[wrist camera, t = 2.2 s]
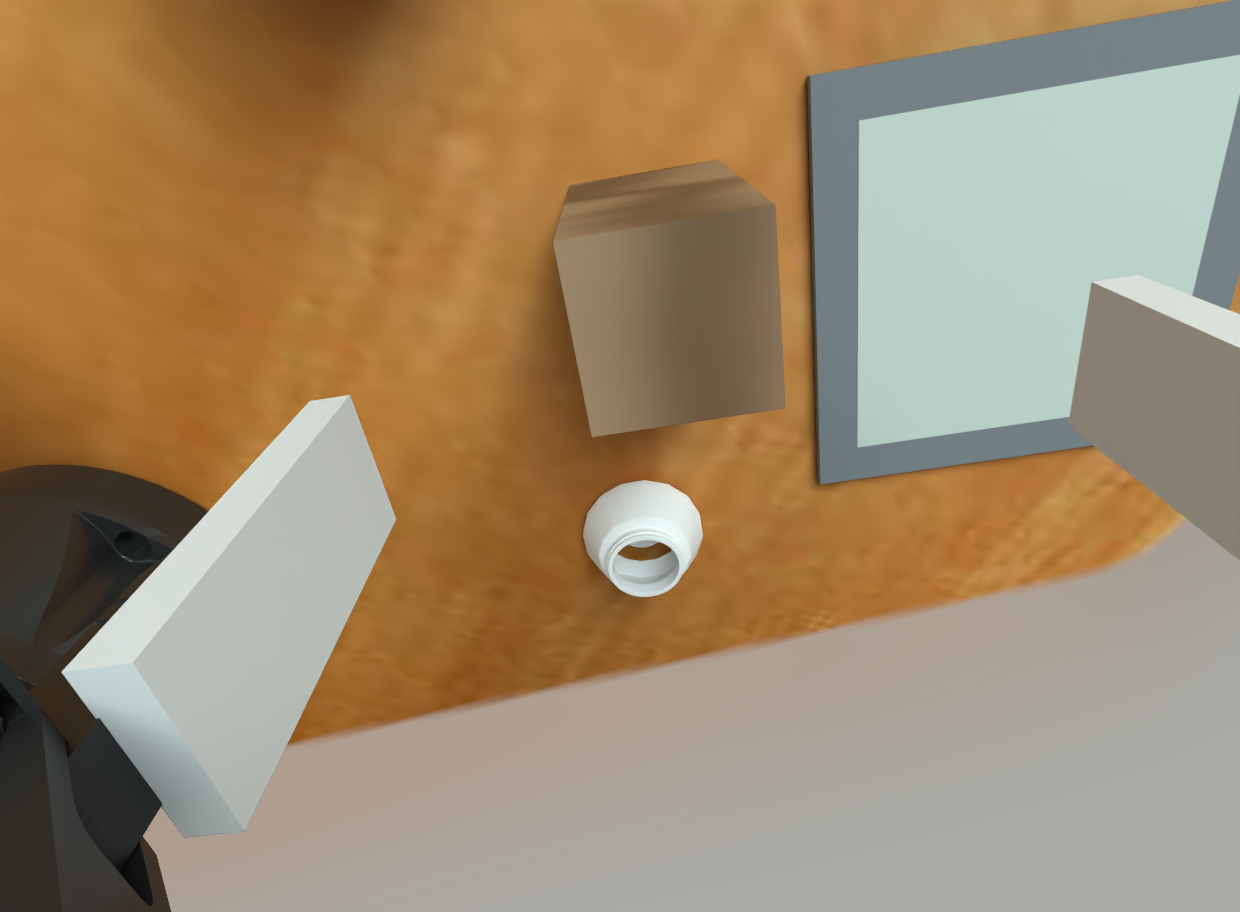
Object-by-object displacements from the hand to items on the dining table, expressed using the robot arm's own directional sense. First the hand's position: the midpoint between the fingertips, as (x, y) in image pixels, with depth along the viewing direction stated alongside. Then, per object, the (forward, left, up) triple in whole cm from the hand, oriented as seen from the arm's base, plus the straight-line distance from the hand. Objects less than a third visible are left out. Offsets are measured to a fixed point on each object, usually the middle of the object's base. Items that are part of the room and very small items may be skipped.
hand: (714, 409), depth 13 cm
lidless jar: (-2, -12, -14) cm, 18 cm away
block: (0, 0, -14) cm, 14 cm away
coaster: (+13, -3, -14) cm, 19 cm away
